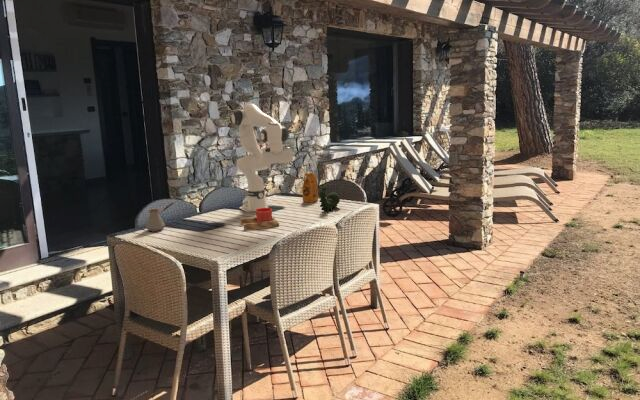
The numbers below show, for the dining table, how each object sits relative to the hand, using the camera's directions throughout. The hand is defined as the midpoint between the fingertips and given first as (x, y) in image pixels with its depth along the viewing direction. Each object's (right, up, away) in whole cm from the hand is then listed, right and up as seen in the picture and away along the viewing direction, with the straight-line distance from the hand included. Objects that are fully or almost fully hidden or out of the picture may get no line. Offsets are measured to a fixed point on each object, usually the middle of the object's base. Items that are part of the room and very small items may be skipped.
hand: (277, 170), depth 314 cm
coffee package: (+19, -20, +66) cm, 71 cm away
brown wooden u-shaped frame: (-12, -35, -1) cm, 37 cm away
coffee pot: (-73, -37, +2) cm, 82 cm away
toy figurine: (+34, -26, +34) cm, 54 cm away
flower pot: (-8, -34, 0) cm, 35 cm away
